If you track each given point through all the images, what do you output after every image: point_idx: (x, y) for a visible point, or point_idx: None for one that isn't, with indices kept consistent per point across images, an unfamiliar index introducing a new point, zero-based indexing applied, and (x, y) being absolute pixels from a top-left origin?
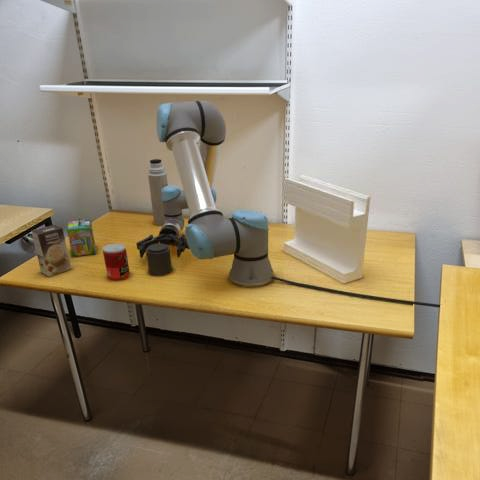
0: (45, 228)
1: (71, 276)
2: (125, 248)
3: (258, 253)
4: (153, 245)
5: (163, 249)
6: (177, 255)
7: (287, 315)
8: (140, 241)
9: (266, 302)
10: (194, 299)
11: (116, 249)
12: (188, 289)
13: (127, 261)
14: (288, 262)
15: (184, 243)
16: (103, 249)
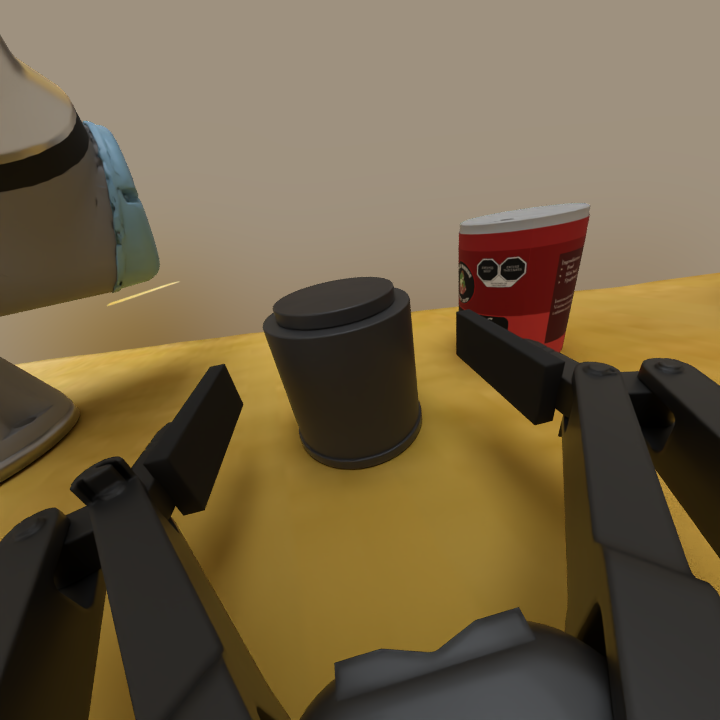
0: None
1: (680, 310)
2: (467, 232)
3: None
4: (366, 292)
5: (290, 294)
6: (237, 395)
7: (67, 359)
8: (716, 399)
9: (67, 375)
10: (227, 345)
11: (491, 221)
12: (237, 363)
13: (464, 298)
14: None
15: (106, 480)
16: (540, 207)
